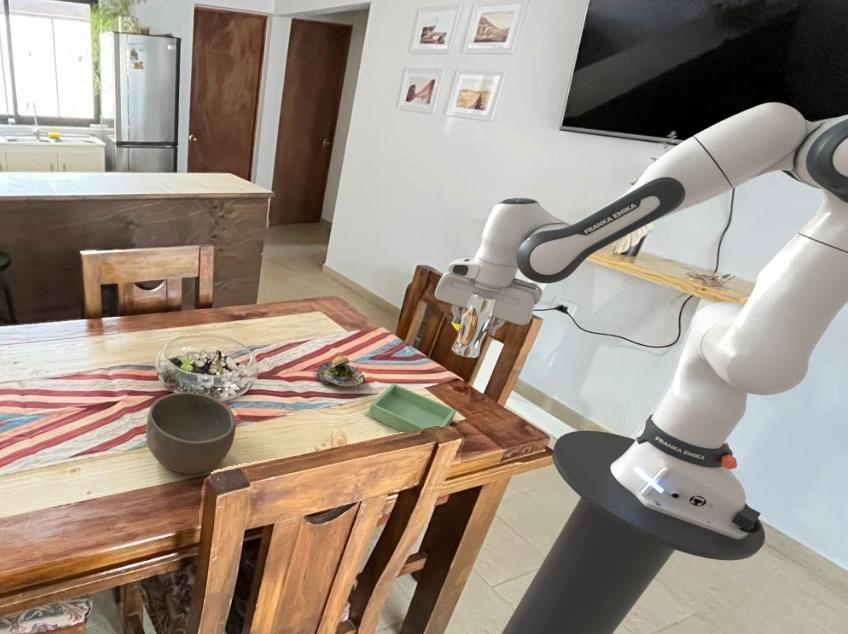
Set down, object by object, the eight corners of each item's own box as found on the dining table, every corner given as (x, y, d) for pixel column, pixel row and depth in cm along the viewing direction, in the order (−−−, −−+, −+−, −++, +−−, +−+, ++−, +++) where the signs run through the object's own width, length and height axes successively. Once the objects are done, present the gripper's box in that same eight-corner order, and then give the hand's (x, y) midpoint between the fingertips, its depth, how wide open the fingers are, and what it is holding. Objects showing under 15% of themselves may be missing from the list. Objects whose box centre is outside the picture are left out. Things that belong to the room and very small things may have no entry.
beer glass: (446, 342, 126) (465, 285, 119) (476, 347, 125) (497, 290, 118) (452, 356, 120) (473, 296, 113) (484, 361, 119) (506, 301, 112)
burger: (322, 390, 129) (328, 364, 125) (312, 365, 139) (318, 341, 136) (368, 393, 130) (376, 368, 126) (355, 369, 140) (362, 345, 137)
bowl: (213, 423, 113) (218, 385, 108) (244, 479, 98) (251, 438, 93) (135, 433, 107) (137, 393, 102) (155, 495, 92) (158, 451, 88)
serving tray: (452, 420, 122) (456, 410, 121) (433, 446, 113) (438, 435, 111) (389, 393, 131) (393, 383, 129) (367, 415, 121) (370, 404, 120)
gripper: (548, 282, 110) (524, 340, 116) (450, 257, 121) (433, 310, 127) (543, 290, 105) (518, 349, 112) (442, 262, 116) (425, 317, 123)
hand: (472, 328), depth 119 cm, fingers closed on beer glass, 6 cm apart
